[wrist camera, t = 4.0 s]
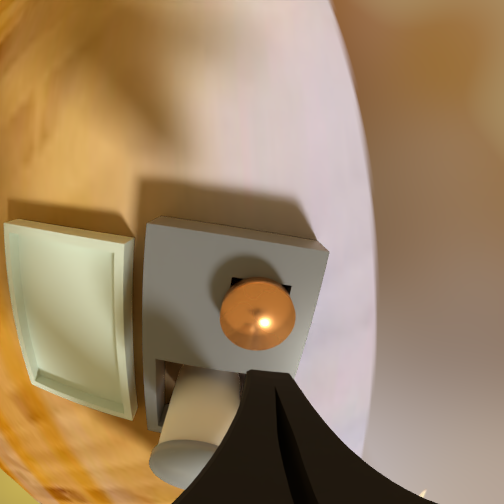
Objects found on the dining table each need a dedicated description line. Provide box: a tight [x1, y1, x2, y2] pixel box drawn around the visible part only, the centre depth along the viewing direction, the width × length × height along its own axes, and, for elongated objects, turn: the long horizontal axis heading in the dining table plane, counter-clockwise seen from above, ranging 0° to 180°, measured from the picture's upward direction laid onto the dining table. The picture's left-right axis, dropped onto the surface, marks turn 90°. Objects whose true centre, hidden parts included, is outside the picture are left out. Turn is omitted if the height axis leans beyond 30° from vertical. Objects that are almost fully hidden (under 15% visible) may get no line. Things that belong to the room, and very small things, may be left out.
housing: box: [142, 216, 329, 433], centre depth 17 cm, size 15×9×2 cm, turn 170°
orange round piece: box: [220, 277, 296, 351], centre depth 15 cm, size 4×4×4 cm
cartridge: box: [149, 364, 240, 489], centre depth 15 cm, size 5×5×8 cm
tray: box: [4, 219, 138, 421], centre depth 17 cm, size 14×10×2 cm
